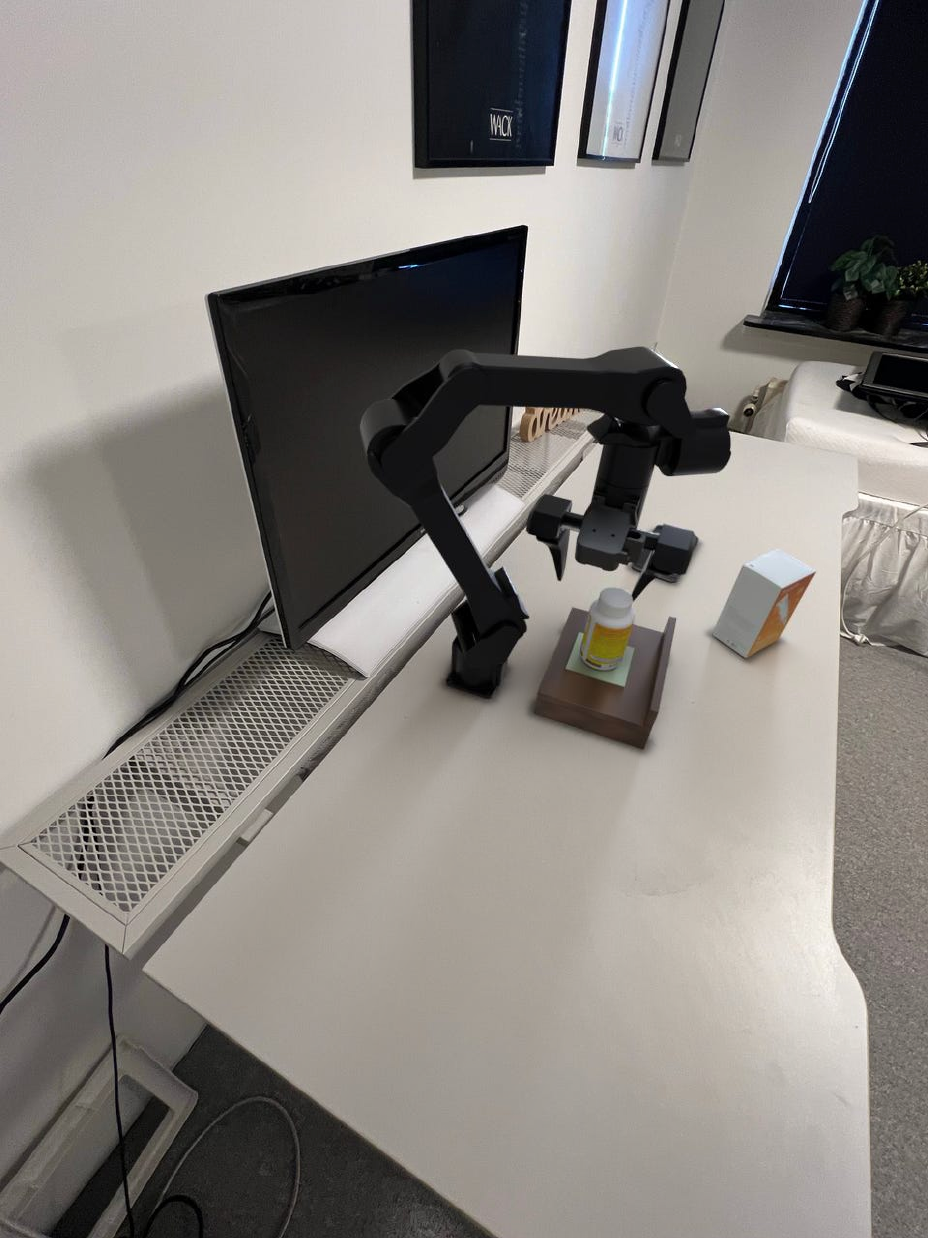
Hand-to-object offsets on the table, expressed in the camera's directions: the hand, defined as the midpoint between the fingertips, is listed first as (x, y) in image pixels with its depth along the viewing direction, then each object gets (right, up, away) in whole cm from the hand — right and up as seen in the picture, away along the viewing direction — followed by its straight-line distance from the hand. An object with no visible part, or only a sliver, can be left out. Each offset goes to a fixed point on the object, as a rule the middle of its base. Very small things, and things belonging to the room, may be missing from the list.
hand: (595, 589), depth 74 cm
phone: (+19, +8, +30) cm, 36 cm away
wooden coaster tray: (+2, -12, +6) cm, 14 cm away
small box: (+26, -7, +14) cm, 30 cm away
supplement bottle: (+1, -9, +4) cm, 10 cm away
